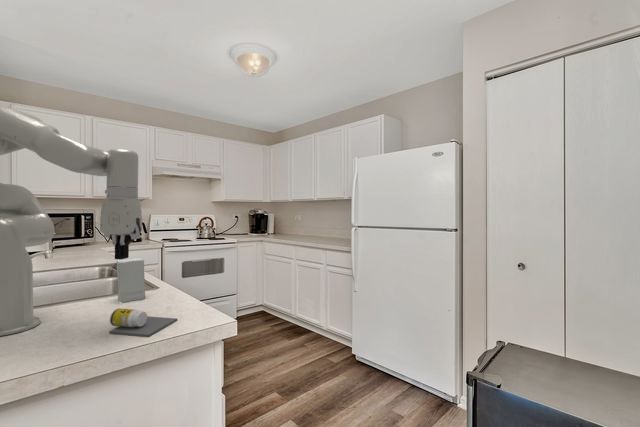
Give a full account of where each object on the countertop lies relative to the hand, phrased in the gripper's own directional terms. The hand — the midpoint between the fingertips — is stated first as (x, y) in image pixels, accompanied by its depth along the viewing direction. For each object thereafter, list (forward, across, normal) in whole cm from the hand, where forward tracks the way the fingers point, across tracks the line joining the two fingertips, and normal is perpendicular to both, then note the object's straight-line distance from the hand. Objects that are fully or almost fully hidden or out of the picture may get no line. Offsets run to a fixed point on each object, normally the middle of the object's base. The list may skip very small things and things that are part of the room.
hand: (121, 258), depth 88 cm
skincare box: (+20, -17, +23) cm, 35 cm away
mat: (+19, +7, +1) cm, 21 cm away
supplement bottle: (+17, -1, -1) cm, 17 cm away
